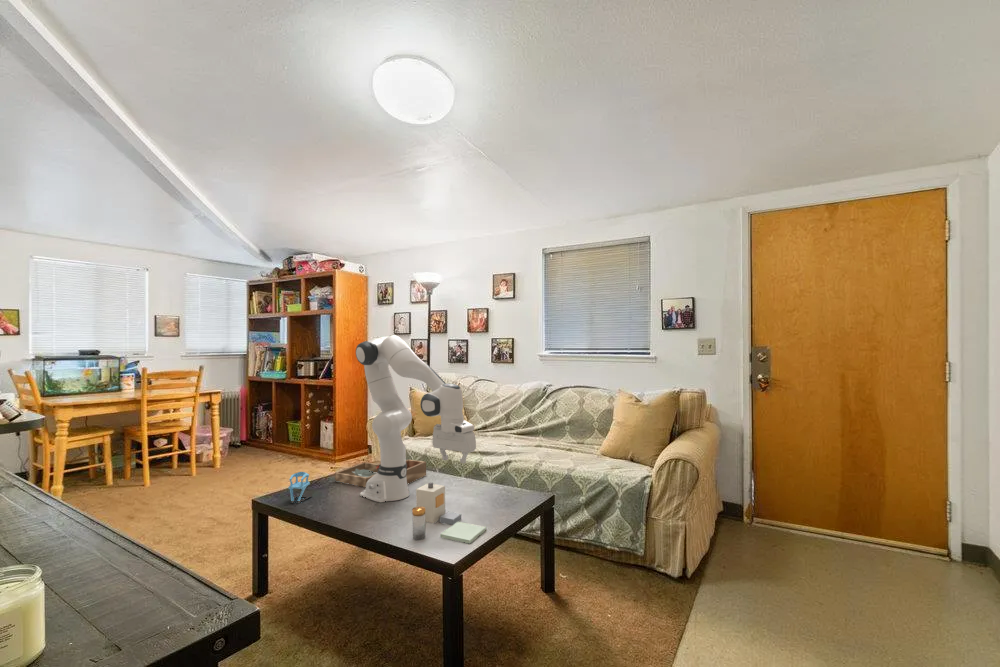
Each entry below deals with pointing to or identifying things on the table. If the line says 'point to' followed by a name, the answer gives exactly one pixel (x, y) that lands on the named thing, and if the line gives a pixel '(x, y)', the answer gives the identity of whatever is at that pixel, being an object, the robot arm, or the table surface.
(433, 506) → the box
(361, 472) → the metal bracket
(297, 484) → the chair
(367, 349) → the robot arm
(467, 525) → the pad
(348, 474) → the brown wooden tray
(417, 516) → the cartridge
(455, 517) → the cover plate
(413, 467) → the bracket holder
